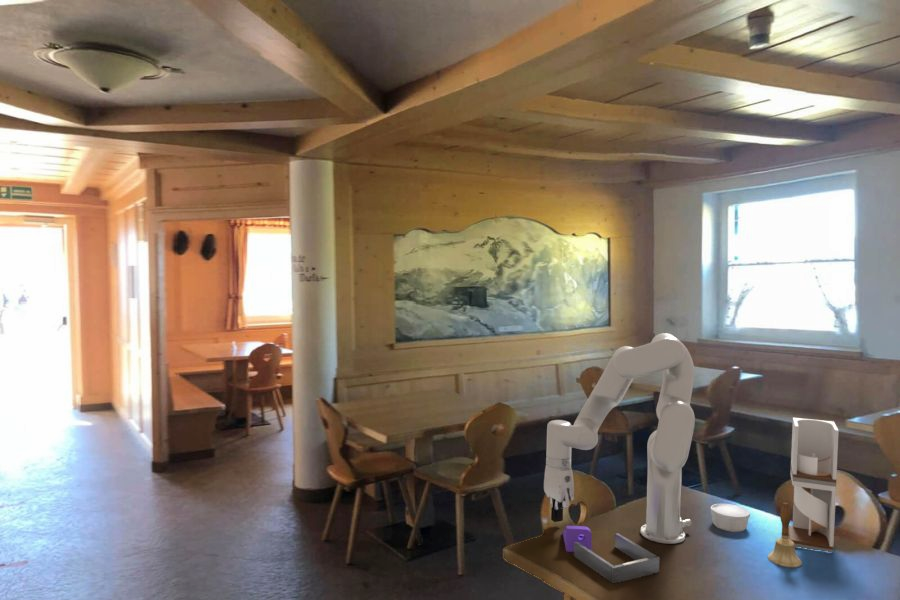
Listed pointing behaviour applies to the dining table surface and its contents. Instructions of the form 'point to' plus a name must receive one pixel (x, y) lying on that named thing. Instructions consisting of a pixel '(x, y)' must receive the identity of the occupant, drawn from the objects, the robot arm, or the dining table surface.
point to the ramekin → (730, 517)
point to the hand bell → (785, 543)
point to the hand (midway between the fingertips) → (556, 520)
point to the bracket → (577, 537)
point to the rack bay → (626, 571)
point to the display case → (813, 483)
